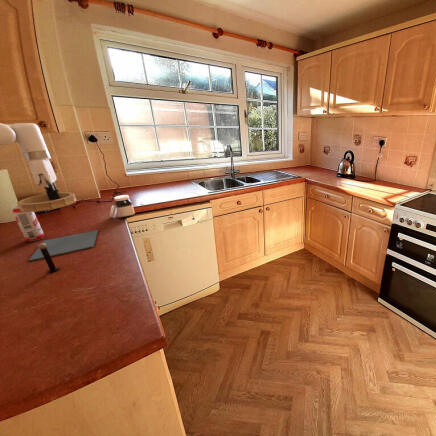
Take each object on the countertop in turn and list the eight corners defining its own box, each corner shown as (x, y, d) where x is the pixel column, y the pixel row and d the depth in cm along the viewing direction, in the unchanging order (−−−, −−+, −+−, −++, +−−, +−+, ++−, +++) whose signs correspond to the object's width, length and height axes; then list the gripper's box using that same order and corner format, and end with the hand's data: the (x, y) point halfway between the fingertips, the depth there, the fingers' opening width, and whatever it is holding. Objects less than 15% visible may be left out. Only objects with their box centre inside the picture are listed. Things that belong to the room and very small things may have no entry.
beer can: (25, 243, 109) (8, 210, 103) (28, 238, 113) (12, 206, 107) (44, 239, 112) (29, 206, 106) (46, 235, 117) (32, 203, 111)
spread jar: (137, 216, 136) (131, 196, 132) (113, 222, 129) (106, 201, 125) (131, 211, 145) (126, 192, 140) (109, 217, 137) (102, 197, 133)
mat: (29, 261, 94) (28, 260, 94) (44, 241, 110) (43, 240, 110) (93, 247, 103) (92, 246, 103) (98, 231, 119) (97, 230, 119)
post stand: (48, 273, 86) (34, 245, 82) (50, 270, 88) (37, 242, 84) (57, 271, 87) (44, 243, 83) (59, 267, 89) (47, 240, 85)
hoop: (13, 215, 89) (10, 207, 88) (29, 203, 102) (26, 196, 101) (72, 206, 97) (69, 199, 96) (79, 196, 110) (76, 190, 109)
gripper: (31, 154, 103) (48, 196, 110) (17, 158, 91) (38, 205, 98) (54, 153, 107) (70, 193, 113) (44, 156, 94) (62, 201, 101)
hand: (55, 198), depth 105 cm, fingers closed on hoop, 1 cm apart
